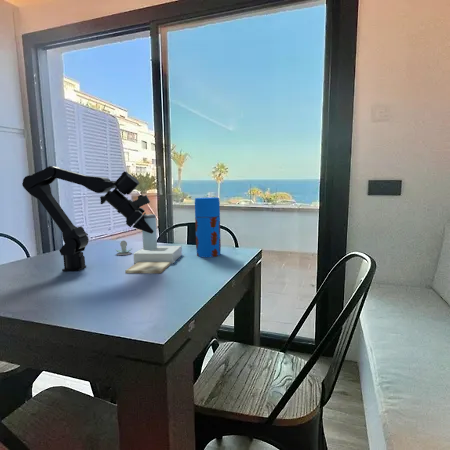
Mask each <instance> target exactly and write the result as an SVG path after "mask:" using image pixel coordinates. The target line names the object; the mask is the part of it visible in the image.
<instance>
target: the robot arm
mask: <svg viewBox="0 0 450 450" xmlns="http://www.w3.org/2000/svg"><path fill="white" fill-rule="evenodd" d="M57 179H58V180H62V181H66V182H68V183H69V182H70V183H73V184H77V185H80V186H83V187H84V188H85V189H88V190H90V191H91V192H94V193H96V194H104V195H101V196H100V197H99V199H100V205H103V204H105V203H106V202H107V203H108V205H110V206H111V207H112V208H114V209H115V210H116V212H117V213H118V214H121V216H123V217H124V218H125V223H126V225H127V227H129V228H131V227H132V228H134V229H137V230H139V231H142V230H143V231H146V232H148V233H151V234H152V233H153V232H154V231H153V230H152V229H151V227H150V226H149V225H148V224H147V222H146V221H145V216H144V215H147V213H146V210H145V209H144V208H143V207H142V206H145V205H148V204H151V201H150V199H149V196H148V195H147V194H145V195H143V194H140V195H138V196H137V199H134V200H132V199H128V197H126V196H125V195H130V194H132V192H134V190H135V189H136V188H137V187H138V186H139V185H140V181H139V180H138V179H137V178H136V177H135V176H133V175H131V174H130V173H129V172H128V171H123V172H122V173H121V175H120V176H119V177H118V178H117V180H111V179H110V178H108V177H106V176H105V177H103V176H93V175H86V174H82V173H79V172H75V171H72V170H68V169H64V168H62V167H59V166H54V165H48V166H47V167H46V168H44V169H41V170H39V171H37V172H35V173H32V174H30V175H26V176H25V177H24V178H23V179H22V182H21V183H22V185H21V186H22V187H23V189H24V190H25V191H26V192H27V193H28V194H29V195H30V196H32V197H33V198H35V199H37V200H38V201H39V202H40V204H41V205H42V206H43V208H44V210H45V211H46V212H47V214H48V215H49V217H50V218H51V219H52V220H53V221H54V223H55V224H56V226H57V227H58V228H59V230H60V232H61V235H62V236H61V237H62V241H63V243H64V244H63V246H61V248H60V249H59V253H60V255H61V256H62V257H63V266H64V267H63V268H62V269H61V271H62V272H63V271H64V272H68V271H69V272H75V271H76V272H77V271H81V270H83V269H84V268H86V267H87V265H86V261H85V255H84V251H85V250H86V247H87V246H88V244H89V240H90V239H89V234H88V233H86V231H85V229H84V227H83V226H78V227H77V226H76V225H74V223H73V222H72V221H71V219H70V218H69V216H68V215H67V214H66V212H65V210H63V208H62V206H61V205H60V204H59V203H58V201H57V200H56V199H55V197H54V195H53V194H52V188H51V184H52V183H54V182H55V181H56V180H57ZM142 215H143V216H142Z"/></svg>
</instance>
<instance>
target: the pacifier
mask: <svg viewBox="0 0 450 450" xmlns="http://www.w3.org/2000/svg"><path fill="white" fill-rule="evenodd" d="M119 244H120V247H121V248H120V249H121V250H120V249H115V252H117V253H116V255H117V256H126V255H127V256H128V255H132V252H131V251H132V250H133V248H129V249H127V247H128V242H127V241H126V240H121V241H120V243H119Z"/></svg>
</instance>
